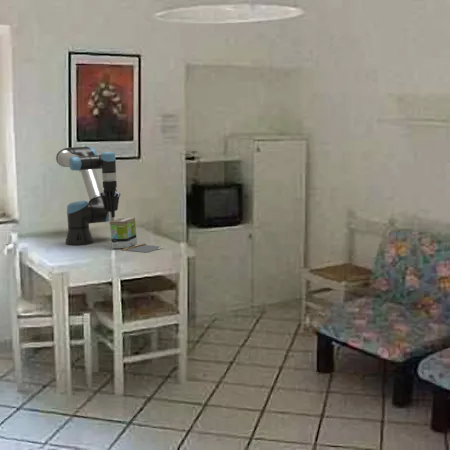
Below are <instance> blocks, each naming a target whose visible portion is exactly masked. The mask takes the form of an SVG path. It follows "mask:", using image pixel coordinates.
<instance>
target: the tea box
mask: <svg viewBox="0 0 450 450" xmlns="http://www.w3.org/2000/svg"><path fill="white" fill-rule="evenodd" d="M109 227H110V241H111V248H112V249H124V248H129V247H132V246H135V245H138V243H137V242H138V241H137V239H138V238H137V226H136V218H135V217H125V218H124V217H123V218H117V219H114V221H111V222H110V224H109Z"/></svg>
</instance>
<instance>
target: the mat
mask: <svg viewBox="0 0 450 450" xmlns="http://www.w3.org/2000/svg"><path fill="white" fill-rule="evenodd" d="M159 247H160V246H157V245H147V244H146V245H143V246H139V247H135V248H132V249H128V250H126V251H127V252H134V253H135V252H136V253H144V254H147V253H152V252H154V250H155V251H157V250H156V249H158V248H159ZM158 250H159V249H158Z"/></svg>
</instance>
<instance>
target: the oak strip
mask: <svg viewBox="0 0 450 450" xmlns="http://www.w3.org/2000/svg"><path fill="white" fill-rule="evenodd" d="M143 245H147V244H146V243H140V244H135V245H132V246H130V247H129V248H121V251H122V252H123V251H124V252H125V251H126V250H128V249H132V248H135V247H139V246H143Z"/></svg>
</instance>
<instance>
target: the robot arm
mask: <svg viewBox="0 0 450 450" xmlns="http://www.w3.org/2000/svg"><path fill="white" fill-rule="evenodd" d="M116 158H117V157H116V153H115V152H114V151H104V152H101V154H98V152H97V151H96V149H95V148H94V147H93V146H74V147H69V146H68V147H65V148H62V149H60V150H59V151H58V152H57V154H56V156H55V161H56V162H57V164H58V165H59V166H61V167H64V168H70V170H71V171H76V172H77V171H78V172H80V174H81V176H82V180H83V183H84V185H85V189H86V193H87V196H88V200H79V201H74V202H70V203H69V204H67V206H66V215H67V226H68V227H67V228H68V229H67V232H66V233H67V235H66V238H65V244H66V245H67V246H68V245H69V246H81V245H89V244H93V242H94V238H93V236H92V233H91V231H90V224H98V223H100V224H101V223H109V225H110V222H111V221H114V220H115V217H116V216H115V215H116V213H115V212H116V211H118V209H119V208H118V207H119V202H120V201H119V200H120V196H121V193H120V192H118V190H117V187H118V184H117V164H116V163H117V162H116V161H117V159H116ZM100 169H101V175H102V176H101V177H102V186H101V182H100V179H99V175H98V172H97V170H100Z"/></svg>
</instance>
